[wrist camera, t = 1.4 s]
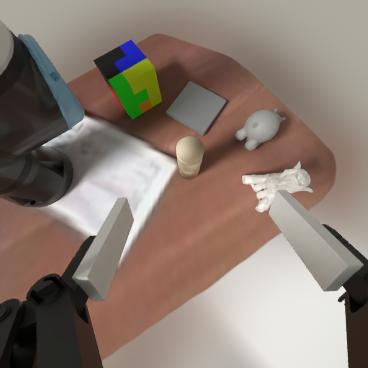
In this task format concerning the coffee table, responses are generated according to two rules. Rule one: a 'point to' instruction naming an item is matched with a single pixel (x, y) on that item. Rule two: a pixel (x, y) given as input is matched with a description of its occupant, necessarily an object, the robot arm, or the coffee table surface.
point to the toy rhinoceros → (259, 128)
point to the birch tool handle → (189, 156)
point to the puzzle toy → (130, 78)
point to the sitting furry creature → (277, 184)
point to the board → (196, 108)
